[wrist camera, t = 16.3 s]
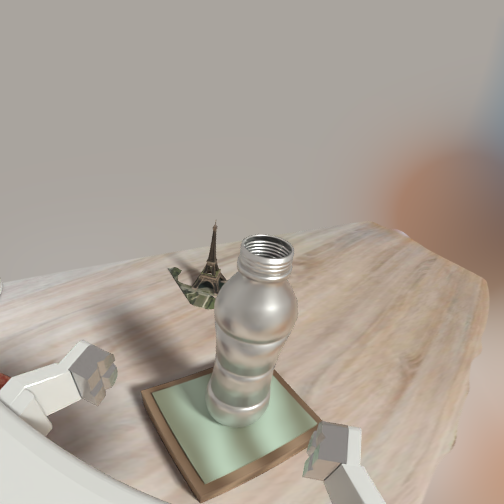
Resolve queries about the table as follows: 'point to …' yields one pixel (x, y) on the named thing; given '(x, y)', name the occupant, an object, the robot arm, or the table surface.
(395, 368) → the table surface
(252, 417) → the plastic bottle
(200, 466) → the walnut stand
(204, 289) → the eiffel tower figurine
